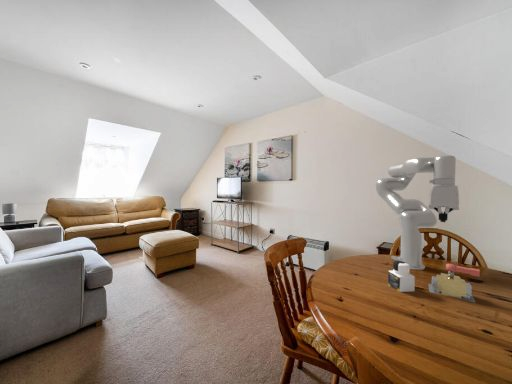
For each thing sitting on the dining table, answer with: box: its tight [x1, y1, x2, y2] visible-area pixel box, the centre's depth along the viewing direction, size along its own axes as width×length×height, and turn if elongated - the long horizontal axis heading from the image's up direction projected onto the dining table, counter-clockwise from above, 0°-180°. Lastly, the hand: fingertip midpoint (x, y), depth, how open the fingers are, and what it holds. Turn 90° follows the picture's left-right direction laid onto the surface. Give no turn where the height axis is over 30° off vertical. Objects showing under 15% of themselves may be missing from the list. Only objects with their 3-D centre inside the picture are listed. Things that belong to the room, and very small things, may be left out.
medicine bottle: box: [387, 260, 416, 293], centre depth 94 cm, size 7×7×12 cm
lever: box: [445, 263, 481, 277], centre depth 86 cm, size 3×10×2 cm, turn 45°
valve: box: [431, 270, 473, 300], centre depth 89 cm, size 12×6×10 cm, turn 53°
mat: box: [428, 283, 476, 303], centre depth 90 cm, size 14×9×1 cm, turn 53°
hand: (442, 221), depth 99 cm, fingers closed
